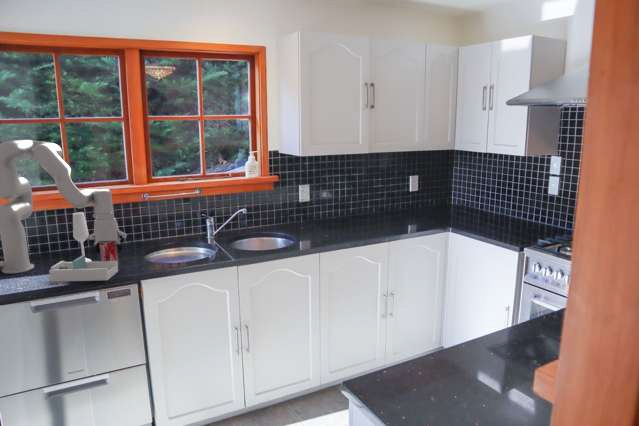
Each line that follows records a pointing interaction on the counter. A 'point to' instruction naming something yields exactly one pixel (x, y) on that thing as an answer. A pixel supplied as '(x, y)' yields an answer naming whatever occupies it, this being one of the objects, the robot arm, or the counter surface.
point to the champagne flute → (80, 230)
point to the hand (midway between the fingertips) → (109, 252)
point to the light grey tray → (83, 271)
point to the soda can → (108, 251)
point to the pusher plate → (79, 263)
